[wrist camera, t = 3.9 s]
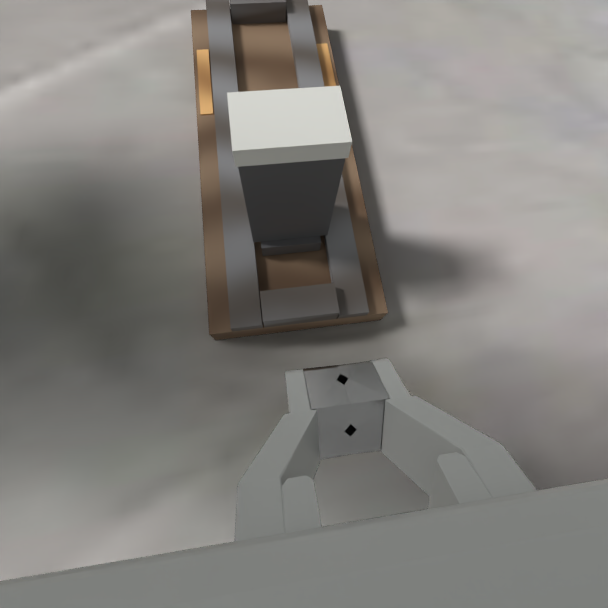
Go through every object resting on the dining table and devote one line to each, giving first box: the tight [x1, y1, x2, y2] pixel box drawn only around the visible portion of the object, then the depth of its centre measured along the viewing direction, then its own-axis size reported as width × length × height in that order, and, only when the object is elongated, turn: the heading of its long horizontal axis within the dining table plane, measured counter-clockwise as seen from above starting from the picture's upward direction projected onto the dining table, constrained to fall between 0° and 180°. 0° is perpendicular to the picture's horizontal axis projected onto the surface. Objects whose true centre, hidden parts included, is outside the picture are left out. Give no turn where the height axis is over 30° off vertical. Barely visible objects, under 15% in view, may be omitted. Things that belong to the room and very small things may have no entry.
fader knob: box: [227, 86, 352, 256], centre depth 20 cm, size 4×5×10 cm
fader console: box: [191, 0, 388, 340], centre depth 27 cm, size 30×12×4 cm, turn 8°
